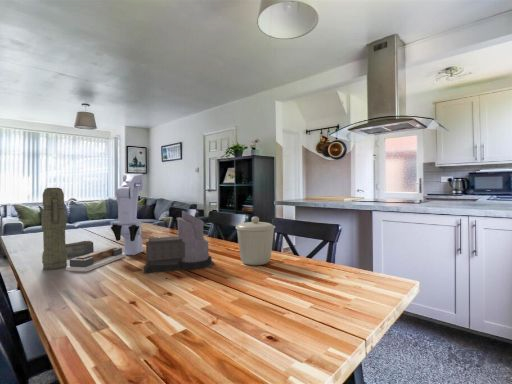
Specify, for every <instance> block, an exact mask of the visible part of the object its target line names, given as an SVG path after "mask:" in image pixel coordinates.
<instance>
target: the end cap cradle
mask: <svg viewBox="0 0 512 384" xmlns="http://www.w3.org/2000/svg"><path fill="white" fill-rule="evenodd" d="M106 248H107V247H106ZM106 248H103V249H106ZM103 249H101V250H103ZM78 257H79V256H76V257H72V258H71V259H69V265H67V266H66V267H65V271H69V272H70V271H71V272H89V271H91V270H95V269H96V268H99V267H102V266H105V265H107V264H110V263H111V262H115V261H117V260H120V259H123V258H125V257H126V255H125V254H124V253H123V247H116V249H114V250H113V256H110V257H108V258H105V259H102V260H99V261H96V262H93V257H90V258H87V259H84V260H81V259H78Z"/></svg>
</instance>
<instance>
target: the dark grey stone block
mask: <svg viewBox="0 0 512 384" xmlns="http://www.w3.org/2000/svg"><path fill="white" fill-rule="evenodd" d="M65 244H66V250H67V258H75V257H81V256H84V255H87V254H90V253H93V252H95V250H94V241H92V240H81V241H79V242H78V241H77V242H72V243H65Z"/></svg>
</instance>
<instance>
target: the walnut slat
mask: <svg viewBox="0 0 512 384" xmlns="http://www.w3.org/2000/svg"><path fill="white" fill-rule="evenodd" d="M116 248H117V247H115V246H113V247H106V249H105V248H103V250H102V249H100V250H97V251H94V252H93V253H90V254H86V255H80V256H77V257H78V259H81V260H84V259H87V258H90V257H93V262H96V261H99V260H102V259H105V258H108V257H110V256H113V250H114V249H116Z"/></svg>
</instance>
